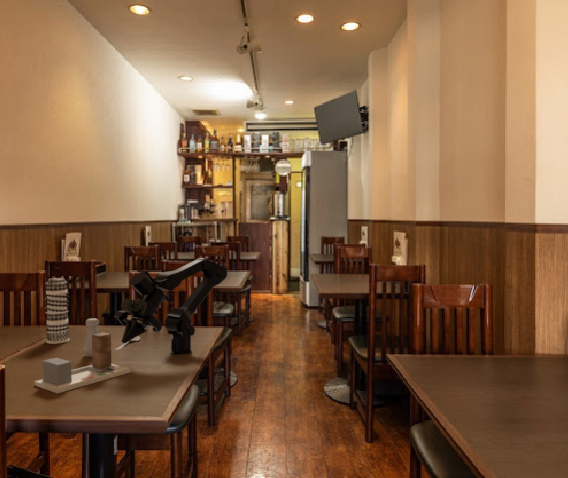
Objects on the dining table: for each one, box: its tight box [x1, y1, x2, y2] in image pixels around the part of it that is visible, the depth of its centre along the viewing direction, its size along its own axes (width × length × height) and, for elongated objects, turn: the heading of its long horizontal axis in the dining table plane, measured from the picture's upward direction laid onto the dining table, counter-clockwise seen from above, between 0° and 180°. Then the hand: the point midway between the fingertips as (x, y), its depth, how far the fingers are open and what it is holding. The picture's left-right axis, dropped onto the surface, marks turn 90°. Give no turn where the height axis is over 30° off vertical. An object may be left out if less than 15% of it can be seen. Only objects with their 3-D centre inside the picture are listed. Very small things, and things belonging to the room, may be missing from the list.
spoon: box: [115, 335, 141, 351], centre depth 194 cm, size 4×21×2 cm, turn 171°
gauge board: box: [34, 357, 131, 394], centre depth 152 cm, size 24×12×7 cm, turn 143°
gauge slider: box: [89, 332, 115, 372], centre depth 155 cm, size 5×9×11 cm, turn 53°
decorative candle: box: [44, 277, 70, 345], centre depth 201 cm, size 9×9×25 cm
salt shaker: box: [83, 317, 100, 358], centre depth 178 cm, size 6×6×13 cm
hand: (123, 342), depth 163 cm, fingers closed
